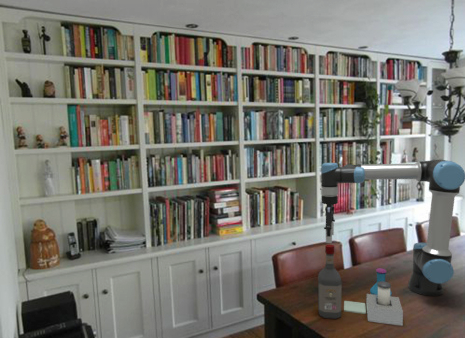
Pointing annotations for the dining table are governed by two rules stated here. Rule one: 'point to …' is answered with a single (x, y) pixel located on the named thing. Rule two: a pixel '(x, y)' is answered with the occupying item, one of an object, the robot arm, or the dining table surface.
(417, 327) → the dining table surface
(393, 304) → the housing
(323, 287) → the liquor
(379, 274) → the perfume bottle
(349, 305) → the mat
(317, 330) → the dining table surface
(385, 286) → the salt shaker
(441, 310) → the dining table surface
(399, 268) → the dining table surface
